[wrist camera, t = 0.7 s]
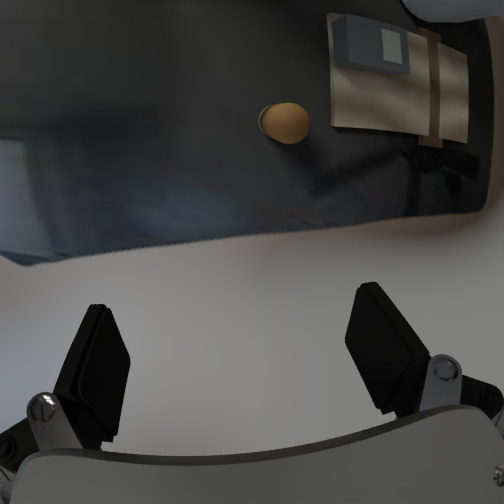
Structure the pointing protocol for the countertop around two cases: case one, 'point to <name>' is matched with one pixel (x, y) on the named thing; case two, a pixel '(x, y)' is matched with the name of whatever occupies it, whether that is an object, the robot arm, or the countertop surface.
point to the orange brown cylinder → (284, 122)
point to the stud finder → (370, 45)
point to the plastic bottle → (454, 9)
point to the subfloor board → (406, 92)
